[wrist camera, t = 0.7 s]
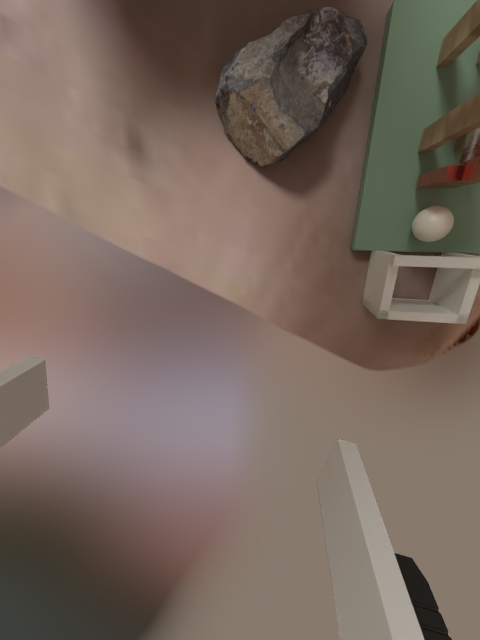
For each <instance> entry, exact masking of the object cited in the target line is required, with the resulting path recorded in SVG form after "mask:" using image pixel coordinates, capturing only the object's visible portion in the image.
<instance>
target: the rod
mask: <svg viewBox="0 0 480 640" xmlns="http://www.w3.org/2000/svg"><path fill="white" fill-rule="evenodd" d="M479 92H480V88H479V91H478V93H479ZM459 164H463V165H447V166H445V167H442V168H439V169H436V170H433V171H430V172H428V173H425V174H422V175H419V178H418V182H417V187H416V188H456V187H461V186H466V185H470V184H475V183H480V127H479V128H477V129H475V130H473V131H471V132H469V133H467V136H466V140H465V144H464V148H463V151H462V155H461V159H460V163H459Z"/></svg>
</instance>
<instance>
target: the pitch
mask: <svg viewBox="0 0 480 640" xmlns="http://www.w3.org/2000/svg"><path fill="white" fill-rule="evenodd" d="M476 1H477V0H394V1H393V3H392V5H391V7H390V9H389V11H388V13H387V20H386V26H385V33H384V39H383V45H382V52H381V58H380V65H379V71H378V77H377V84H376V90H375V97H374V103H373V109H372V116H371V122H370V128H369V135H368V141H367V148H366V154H365V160H364V167H363V173H362V180H361V186H360V192H359V199H358V205H357V211H356V218H355V224H354V231H353V237H352V243H351V249H352V250H368V251H404V252H440V253H475V254H480V183H475V184H470V185H466V186H461V187H456V188H416V187H417V182H418V178H419V175H422V174H425V173H428V172H430V171H433V170H436V169H439V168H442V167H445V166H447V165H463V164H459V163H460V159H461V155H462V152H453V151H454V147H455V144H456V140H457V139H455V140H453V141H451V142H449V143H447V144H444V145H442V146H440V147H438V148H436V149H434V150H432V151H430V152H428V153H418V149H419V145H420V140H421V135H422V131H423V129H425V128H426V127H428V126H429V125H431V124H432V123H434V122H435V121H437V120H438V119H440V118H441V117H443V116H444V115H446V114H447V113H449V112H450V111H452V110H453V109H455V108H456V107H458V106H459V105H461V104H462V103H464V102H465V101H467V100H468V99H470V98H471V97H473V96H475V95H476V94H478V91H479V88H480V65H476V61H477V58H478V54H479V50H480V37H479V38H478V39H477V40H476V41H475V42H473V43H472V44H471V45H470V46H469V47H468V48H467V49H466V50H465V51H464V52H463V53H462V54H461V55H460V56H459V57H457V58H456V59H455V60H454V61H453V62H452V63H451V64H450V65H449V66H448V67H436V66H437V61H438V56H439V52H440V47H441V43H442V39H443V38H444V37H445V36H446V35H447V34H448V33H449V31H450V30H451V29H452V28H453V27H454V26H455V25H456V24H457V22H458V21H459V20H460V19H461V18H462V17H463V16H464V14H465V13H466V12H467V11H468V10H469V9H470V8H471V7H472V5H473V4H474V3H475V2H476ZM432 206H442V207H445V208H447V209H449V210H450V211H451V212H452V214H453V217H454V224H453V227H452V229H451V230H450V232H449V233H448V234H447V235H446V236H445V237H443V238H442V239H440V240H437V241H434V242H424V241H421V240H419V239H417V238H416V237H415V236H414V234H413V232H412V223H413V220H414V218H415V217H416V216H417V214H418V213H420V212H421V211H422V210H424V209H426V208H428V207H432Z"/></svg>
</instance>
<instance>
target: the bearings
mask: <svg viewBox="0 0 480 640" xmlns="http://www.w3.org/2000/svg"><path fill="white" fill-rule="evenodd" d="M479 37H480V0H477V1H476V2H475V3H474V4H473V5H472V7H471V8H470V9H469V10H468V11H467V12H466V13H465V14H464V16H463V17H462V18H461V19H460V20H459V21H458V22H457V24H456V25H455V26H454V27H453V28H452V29H451V30H450V31H449V33H448V34H447V35H446V36H445V37H444V38H443V39H442V43H441V47H440V52H439V56H438V61H437V66H436V67H448V66H449V65H450V64H451V63H452V62H453V61H454V60H455V59H456V58H457V57H459V56H460V55H461V54H462V53H463V52H464V51H465V50H466V49H467V48H468V47H469V46H470V45H471V44H472V43H473V42H475V41H476V40H477V39H478V38H479ZM476 65H480V50H479V54H478V58H477V61H476ZM479 127H480V92H479V93H478V94H476V95H475V96H473V97H471V98H470V99H468V100H467V101H465V102H464V103H462V104H461V105H459V106H458V107H456V108H455V109H453V110H452V111H450V112H449V113H447V114H446V115H444V116H443V117H441V118H440V119H438V120H437V121H435V122H434V123H432V124H431V125H429V126H428V127H426V128H425V129H423V131H422V135H421V140H420V145H419V149H418V153H428V152H430V151H432V150H434V149H436V148H438V147H440V146H442V145H444V144H447V143H449V142H451V141H453V140H455V139H457V140H456V144H455V147H454V151H453V152H462V151H463V148H464V144H465V140H466V136H467V133H469V132H471V131H473V130H475V129H477V128H479Z"/></svg>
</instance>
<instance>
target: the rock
mask: <svg viewBox="0 0 480 640" xmlns="http://www.w3.org/2000/svg"><path fill="white" fill-rule="evenodd" d="M366 45H367V39H366V35H365V32H364V29H363V26H362V24H361V23H360V21H359V20H358V19H356V18H352V17H349V18H347V16H346V15H344V14H343V13H341V12H340V11H339V10H338V9H337V8H336V7H330V6H325V7H323V8H322V9H314V10H311V11H308V12H306V13H304V14H303V15H297V16H294V17H291V18H288V19H286V20H284V21H283V22H282V24H281V26H279V27H277V28H276V29H275V30H274V31H273V32H272V33H271V34H269V35H267V36H265V37H262V38H259V39H258V40H256V41H250V42H249V43H248V44H247V46H246V47H244V48H242V49H241V50H240V51H236V52H235V53H234V55H233V57H232V59H231V60H230V62H228V63H227V64H226V66H225V67H223V69H222V72H221V77H220V81H219V84H218V89H217V92H216V101H215V103H216V107H217V111H218V114H219V117H220V119H221V121H222V124H223V126H224V132H225V134H226V135H227V136H228V137H230V139H231V142H233V143H234V144H235V146H236V147H237V148H238V149H239V150H240V151H241V153H242V154H243V156H244V158H246V159H249V160H250V161H252V162H253V163H254V164H255V165H259V166H261V167H263V166H267V165H270V164H273V163H275V162H278V161H281V160H282V159H284V158H285V157H286V156H287V155H288V154H289V153H290V152H291V151H292V150H293V149H294V148H295V147H296V146H298V145H299V144H300V143H302V142H303V141H304V140H306V139H307V138H308V137H309V135H311V134H312V133H313V132H314V131H316V129H317V128H318V127H319V125H320V124H321V123H322V122H323V121H324V120H325V119H326V117H327V116H328V115H329V114H330V112H331V110H332V108H333V107H334V106H335V105H336V103H337V102H338V101H339V99H340V98H341V96H342V95H343V94H344V93H345V91H346V89H347V87H348V85H349V82H350V77H351V75H352V74H353V72H354V68H355V67H356V65H357V63H358V61H359V59H360V57H361V56H362V54H363V52H364V50H365V48H366Z"/></svg>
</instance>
